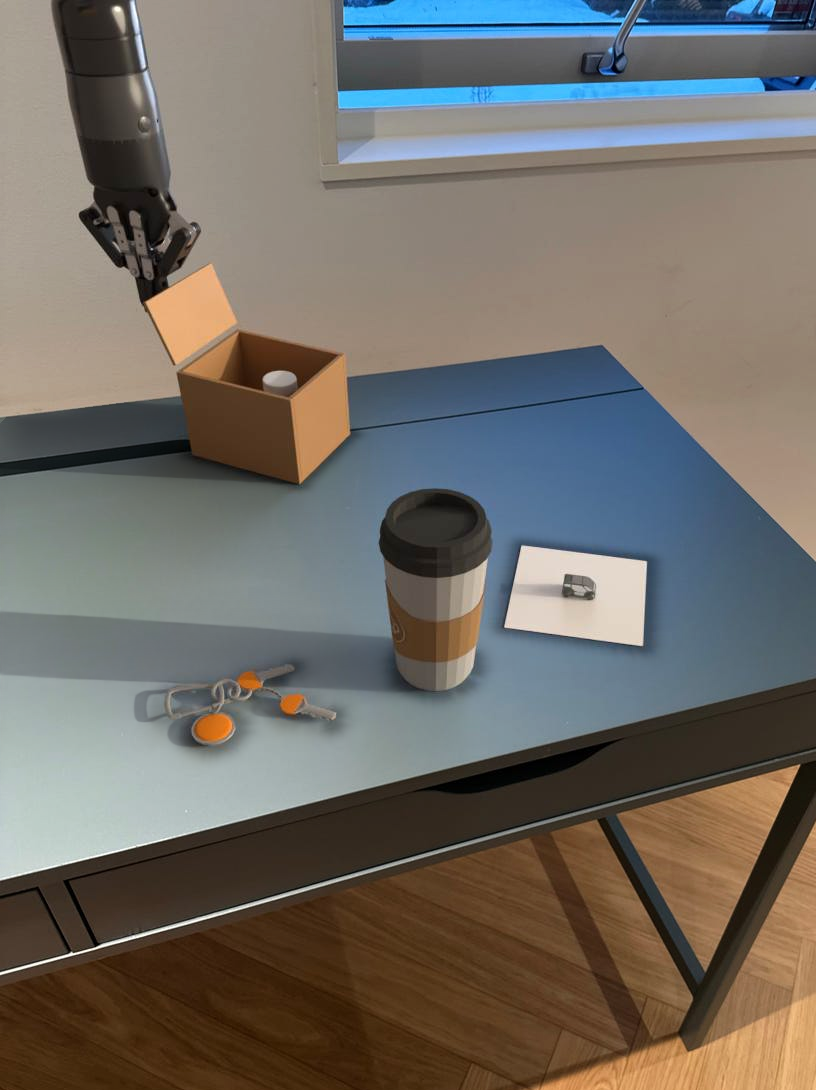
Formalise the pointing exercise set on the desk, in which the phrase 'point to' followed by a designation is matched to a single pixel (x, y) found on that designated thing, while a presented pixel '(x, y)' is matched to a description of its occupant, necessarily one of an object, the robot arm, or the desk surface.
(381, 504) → the desk surface
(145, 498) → the desk surface
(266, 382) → the pill bottle
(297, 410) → the carton
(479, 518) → the coffee cup
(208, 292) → the bin flap
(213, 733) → the key chain
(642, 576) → the white square mat
